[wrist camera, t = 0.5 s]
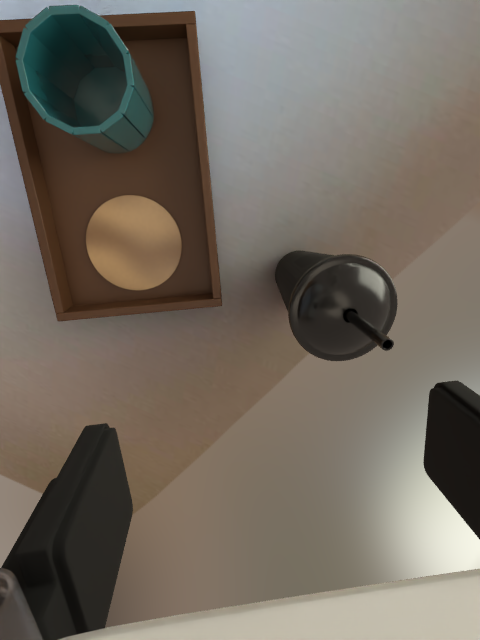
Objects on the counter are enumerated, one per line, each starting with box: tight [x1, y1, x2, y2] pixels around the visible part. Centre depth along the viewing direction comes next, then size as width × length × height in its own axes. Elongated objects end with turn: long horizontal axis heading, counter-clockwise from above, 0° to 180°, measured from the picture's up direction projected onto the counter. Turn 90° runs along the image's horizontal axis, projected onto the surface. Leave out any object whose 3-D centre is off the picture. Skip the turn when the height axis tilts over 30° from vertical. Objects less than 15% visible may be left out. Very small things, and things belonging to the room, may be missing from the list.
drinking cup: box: [275, 251, 397, 361], centre depth 28 cm, size 8×8×20 cm
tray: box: [0, 11, 222, 321], centre depth 33 cm, size 24×16×3 cm, turn 4°
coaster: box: [86, 195, 182, 290], centre depth 35 cm, size 9×9×1 cm
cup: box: [16, 5, 154, 153], centre depth 27 cm, size 7×7×10 cm
